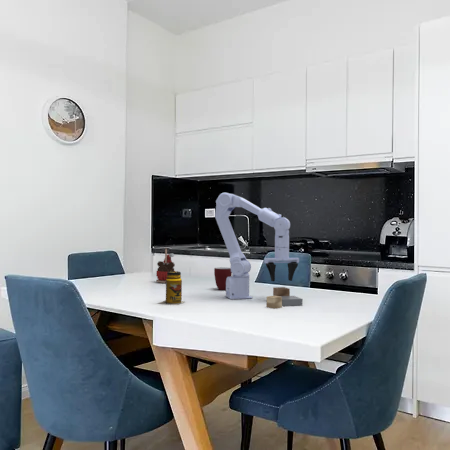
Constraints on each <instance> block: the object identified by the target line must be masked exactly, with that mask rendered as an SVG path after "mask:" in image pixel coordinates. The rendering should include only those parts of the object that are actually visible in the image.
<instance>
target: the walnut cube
mask: <svg viewBox="0 0 450 450" xmlns="http://www.w3.org/2000/svg"><path fill="white" fill-rule="evenodd" d="M272 288H273V289H272V291H273V292H272V296H291V294H290V293H291V292H290V291H291V289H290V288H288V287H280V286H279V287H272Z"/></svg>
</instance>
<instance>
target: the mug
mask: <svg viewBox="0 0 450 450" xmlns="http://www.w3.org/2000/svg"><path fill="white" fill-rule="evenodd" d="M213 270H214V281H215V285H216V287H217V289H218V291H226V279H227V277H231V276H232V274H233V273H232V272H231V267H222V266H221V267H214V269H213Z"/></svg>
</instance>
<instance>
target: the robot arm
mask: <svg viewBox="0 0 450 450" xmlns="http://www.w3.org/2000/svg"><path fill="white" fill-rule="evenodd" d="M215 203H216V204H215V205H216V206H215V214H214V218H215V221H216V224H217V226H218V228H219V229H218V230H219V231H220V233H221V234H220V235H221V236H222V238H223V240H224V241H223V242H224V244H225V246H226V250H227V252H228V254H229V263H230V268H231V272H232V275H231V277H227V279H226V290H225V297H226V298H228V299H230V300H244V299H245V300H246V299H253V298H254V297H253V296H251V295H250V272H251V269H252V266H251V265H252V264H251V262H250V261H249V260H248V259H247V257H246V255H245V254H244V253H243V252H242V249H241V247H240V244H239V242H238V238H237V237H236V233H235V232H234V229H233V226H232V223H231V221H230V219H229V218H230V215H231V214H232V211H233V210H234V209H235V208H242V209H244V210H247V211H248V212H250V213H252V214H254V215H257V217H258V221H260V222H262V223H264V224H266V225H268V226H269V227H271V228H274V233H275V234H274V257H265V258H263V259H264V261H263V263H264V264H265V266H266V268H267V270H268V273H269V278H270V281H271V282H275V280H276V274H275V273H276V266H277V265H276V264H287V270H288V271H287V272H288V275H287V276H288V277H287V278H288V279H287V281H289V282H293V278H294V274H295V271H296V270H297V267H298V265H299V263H300V257H290V228H291V222H290V220H289V219H288V218H287V217H286V216H285V217H284V216H283V217H282V214H280V213H276V212H274V211H273V210H272V208H271V207H268V208H267V207H263V208H260V207H259V206H258V205H256V204H254V203H252V202H251V201H249V200H247V199H246V198H244V197H242V196H239V195H237V194H235V193H229V192H222V193H219V195H218V197H217V198H216V200H215Z"/></svg>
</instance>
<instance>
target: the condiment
mask: <svg viewBox="0 0 450 450" xmlns="http://www.w3.org/2000/svg"><path fill="white" fill-rule="evenodd" d="M181 275H182V273H181V271H178V270H177V271H176V270H174V271H170V272H167V279H166V283H165V300H163V301H161V302H159V304H161V305H172V306H174V305H175V306H178V305H181V304H183V303H185V301H182V298H183V295H182V293H183V292H182V290H183V289H182V288H183V287H182V285H183V281H182V276H181Z"/></svg>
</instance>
